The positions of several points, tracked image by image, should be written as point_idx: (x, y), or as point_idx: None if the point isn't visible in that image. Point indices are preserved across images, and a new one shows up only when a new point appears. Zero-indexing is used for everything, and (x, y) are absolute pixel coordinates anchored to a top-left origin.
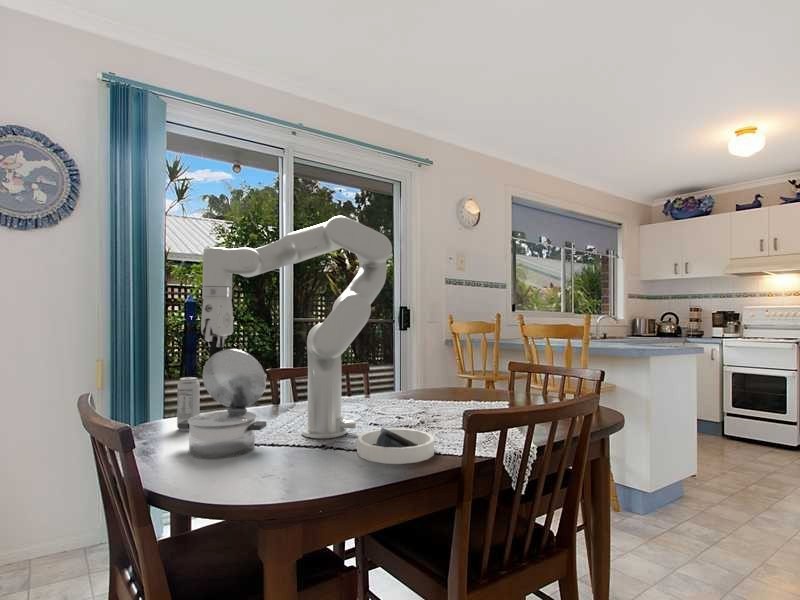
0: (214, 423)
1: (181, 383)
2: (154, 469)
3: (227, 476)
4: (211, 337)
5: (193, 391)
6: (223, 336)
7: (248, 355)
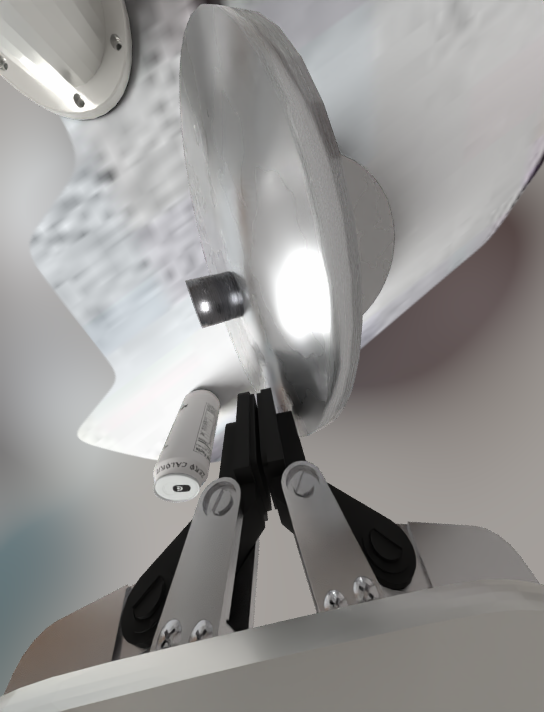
0: (374, 243)
1: (204, 478)
2: (405, 298)
3: (449, 134)
4: (474, 580)
5: (193, 443)
6: (199, 628)
7: (298, 75)
